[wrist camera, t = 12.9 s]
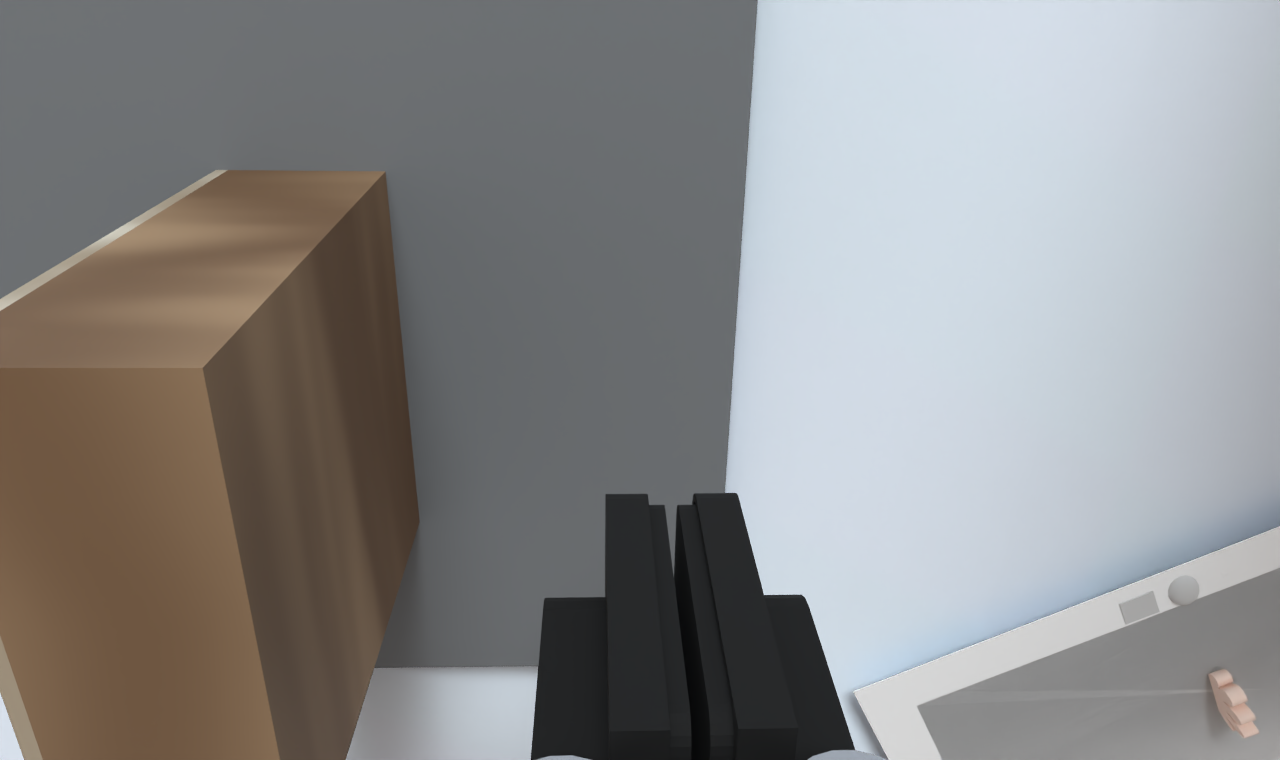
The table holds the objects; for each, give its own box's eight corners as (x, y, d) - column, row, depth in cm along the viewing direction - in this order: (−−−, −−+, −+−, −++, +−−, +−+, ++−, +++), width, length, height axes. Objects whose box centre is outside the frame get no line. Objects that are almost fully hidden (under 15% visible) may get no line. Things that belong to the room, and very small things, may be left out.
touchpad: (1531, 654, 23) (1619, 721, 21) (945, 859, 25) (975, 938, 23) (1508, 395, 20) (1608, 446, 18) (841, 658, 22) (865, 728, 20)
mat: (754, -36, 15) (759, -34, 15) (710, 645, 21) (713, 663, 21) (-409, -58, 14) (-449, -58, 14) (-116, 653, 20) (-136, 673, 20)
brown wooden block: (385, 171, 16) (202, 367, 9) (419, 521, 19) (305, 887, 12) (216, 169, 16) (-116, 368, 8) (277, 522, 19) (72, 893, 11)
